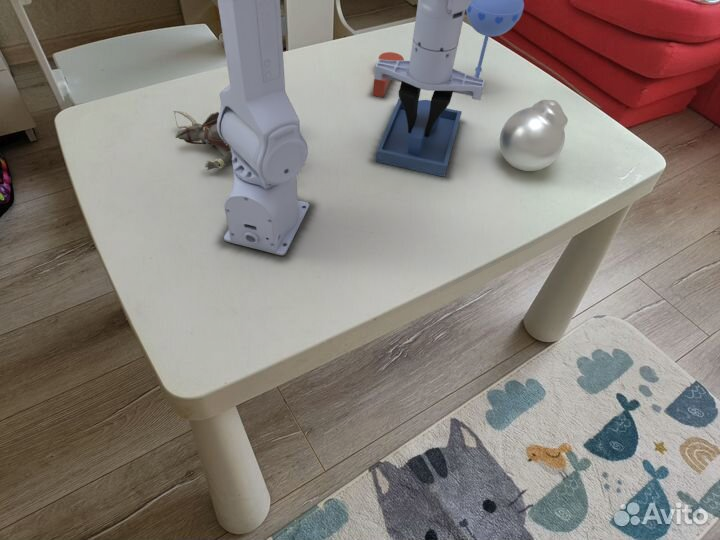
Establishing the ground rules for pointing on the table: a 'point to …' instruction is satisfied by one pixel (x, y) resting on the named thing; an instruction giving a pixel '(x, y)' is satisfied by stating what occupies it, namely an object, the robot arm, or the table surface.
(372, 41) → the table surface
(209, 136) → the figurine
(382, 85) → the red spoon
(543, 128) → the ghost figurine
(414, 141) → the blue spoon
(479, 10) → the baby rattle
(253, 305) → the table surface
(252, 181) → the robot arm
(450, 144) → the blue tray
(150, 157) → the table surface
